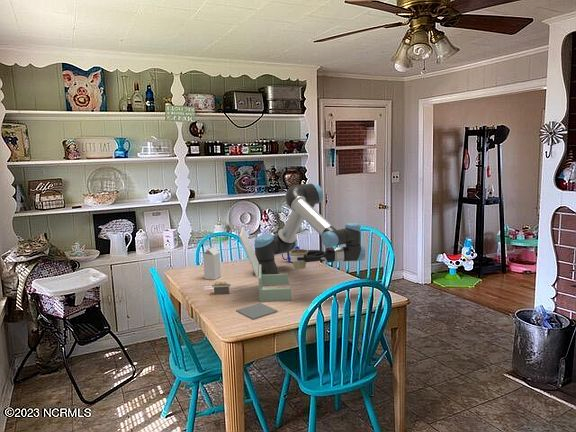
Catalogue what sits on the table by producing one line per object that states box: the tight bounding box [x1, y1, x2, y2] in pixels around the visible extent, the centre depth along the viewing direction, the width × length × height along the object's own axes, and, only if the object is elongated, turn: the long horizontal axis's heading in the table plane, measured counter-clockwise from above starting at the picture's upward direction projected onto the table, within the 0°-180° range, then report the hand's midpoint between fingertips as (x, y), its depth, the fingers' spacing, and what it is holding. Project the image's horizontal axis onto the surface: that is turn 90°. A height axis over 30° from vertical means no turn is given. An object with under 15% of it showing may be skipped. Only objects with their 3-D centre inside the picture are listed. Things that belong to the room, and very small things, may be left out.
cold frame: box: [257, 264, 293, 303], centre depth 233 cm, size 16×26×12 cm, turn 3°
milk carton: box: [202, 245, 222, 281], centre depth 262 cm, size 7×7×19 cm
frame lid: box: [239, 226, 259, 278], centre depth 230 cm, size 22×26×1 cm
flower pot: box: [290, 248, 309, 270], centre depth 223 cm, size 9×9×9 cm
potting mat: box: [235, 302, 279, 320], centre depth 208 cm, size 14×14×1 cm
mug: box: [281, 245, 300, 264], centre depth 294 cm, size 8×12×10 cm
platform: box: [211, 280, 232, 295], centre depth 235 cm, size 12×18×7 cm, turn 93°
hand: (289, 256), depth 223 cm, fingers closed on flower pot, 8 cm apart
